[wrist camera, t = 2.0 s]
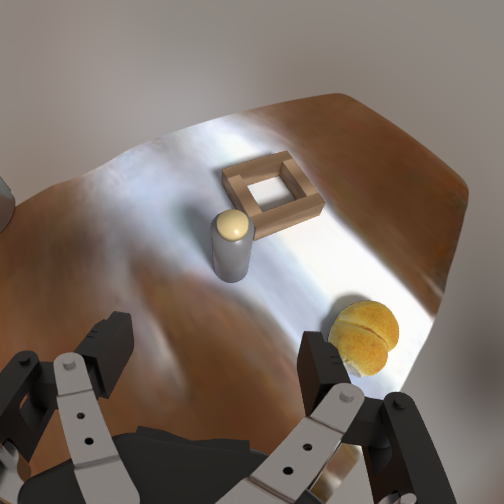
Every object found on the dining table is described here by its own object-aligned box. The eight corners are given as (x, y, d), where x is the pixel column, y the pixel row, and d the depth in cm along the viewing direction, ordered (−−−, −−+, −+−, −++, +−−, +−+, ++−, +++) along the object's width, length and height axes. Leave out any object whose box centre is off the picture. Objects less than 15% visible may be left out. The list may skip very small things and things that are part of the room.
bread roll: (400, 327, 33) (417, 320, 30) (366, 386, 30) (382, 385, 26) (353, 290, 35) (366, 278, 31) (313, 347, 32) (324, 341, 28)
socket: (222, 183, 40) (221, 169, 38) (283, 164, 43) (286, 150, 40) (253, 241, 37) (255, 228, 34) (319, 215, 39) (325, 202, 37)
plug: (209, 259, 35) (203, 212, 26) (239, 247, 36) (243, 198, 27) (222, 288, 34) (220, 249, 25) (253, 274, 35) (262, 232, 26)
